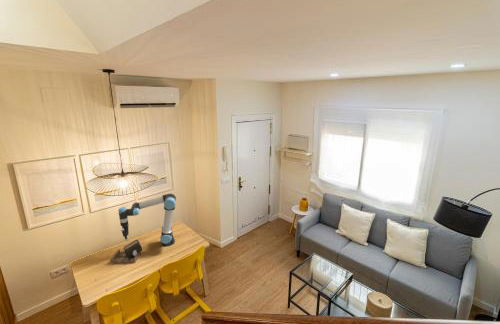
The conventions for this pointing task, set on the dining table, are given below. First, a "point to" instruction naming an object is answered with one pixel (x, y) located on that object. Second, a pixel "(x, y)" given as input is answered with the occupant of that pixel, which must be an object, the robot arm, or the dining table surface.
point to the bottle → (132, 249)
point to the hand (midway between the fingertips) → (126, 240)
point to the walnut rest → (123, 258)
